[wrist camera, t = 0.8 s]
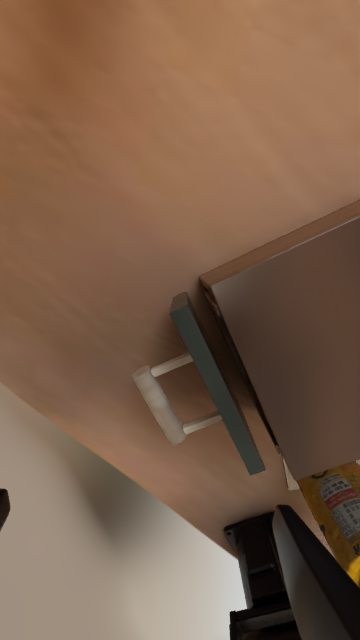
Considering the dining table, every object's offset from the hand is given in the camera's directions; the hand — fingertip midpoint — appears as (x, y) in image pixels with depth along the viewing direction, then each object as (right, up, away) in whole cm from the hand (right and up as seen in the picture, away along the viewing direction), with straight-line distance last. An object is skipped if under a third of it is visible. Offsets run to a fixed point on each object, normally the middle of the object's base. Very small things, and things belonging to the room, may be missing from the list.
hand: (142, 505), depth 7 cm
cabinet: (+13, +7, +12) cm, 20 cm away
